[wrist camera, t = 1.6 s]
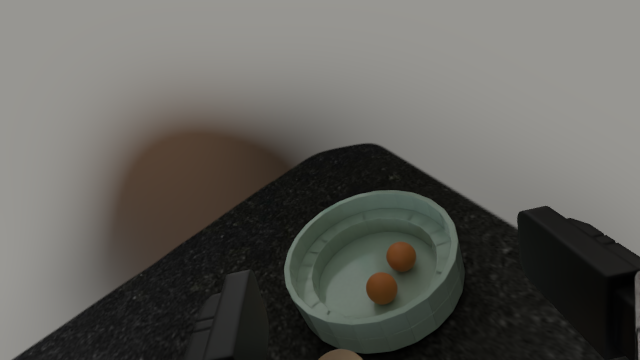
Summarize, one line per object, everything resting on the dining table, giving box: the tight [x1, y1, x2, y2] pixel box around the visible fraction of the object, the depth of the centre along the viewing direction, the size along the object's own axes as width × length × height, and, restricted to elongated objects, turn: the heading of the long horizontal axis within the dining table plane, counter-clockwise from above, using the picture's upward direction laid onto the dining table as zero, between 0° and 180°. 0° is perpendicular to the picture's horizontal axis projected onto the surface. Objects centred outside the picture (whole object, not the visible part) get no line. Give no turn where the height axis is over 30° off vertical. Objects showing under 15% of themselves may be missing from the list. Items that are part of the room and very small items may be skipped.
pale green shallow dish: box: [284, 190, 465, 354], centre depth 42 cm, size 17×17×5 cm
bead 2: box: [386, 242, 416, 272], centre depth 42 cm, size 3×3×3 cm
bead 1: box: [366, 272, 398, 305], centre depth 40 cm, size 3×3×3 cm
